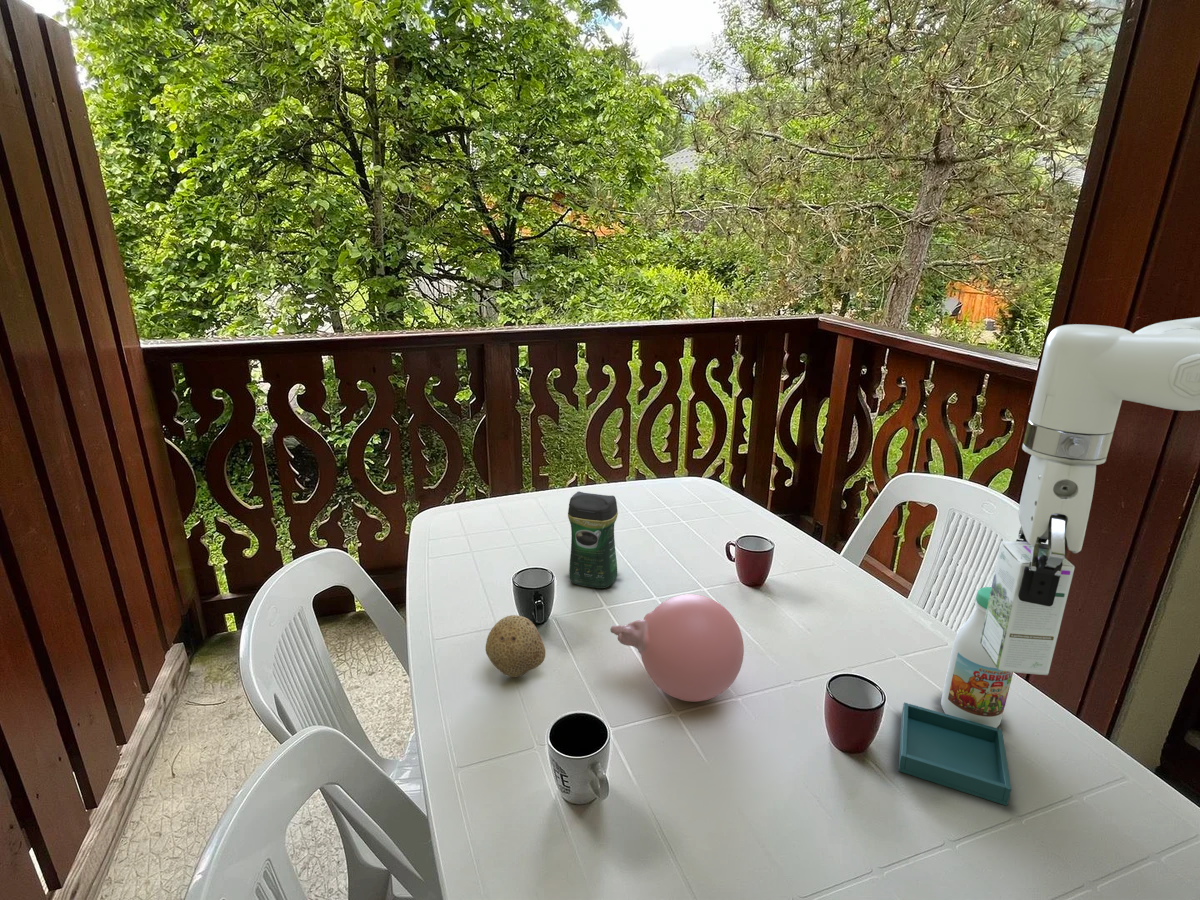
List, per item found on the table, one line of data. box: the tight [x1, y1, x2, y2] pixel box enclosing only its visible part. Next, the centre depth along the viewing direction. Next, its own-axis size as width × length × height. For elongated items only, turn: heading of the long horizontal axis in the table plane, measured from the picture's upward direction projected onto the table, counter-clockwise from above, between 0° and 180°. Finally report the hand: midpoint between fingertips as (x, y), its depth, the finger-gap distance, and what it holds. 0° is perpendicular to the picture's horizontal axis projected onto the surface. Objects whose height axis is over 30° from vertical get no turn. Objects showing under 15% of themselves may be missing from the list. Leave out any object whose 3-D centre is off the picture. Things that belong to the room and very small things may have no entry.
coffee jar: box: [567, 491, 619, 589], centre depth 127 cm, size 10×8×19 cm
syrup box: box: [980, 540, 1076, 676], centre depth 75 cm, size 6×6×14 cm
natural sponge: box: [485, 614, 546, 678], centre depth 100 cm, size 9×9×10 cm
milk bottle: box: [940, 586, 1014, 728], centre depth 90 cm, size 8×8×20 cm
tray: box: [898, 702, 1012, 807], centre depth 85 cm, size 12×11×3 cm
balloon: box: [610, 593, 745, 703], centre depth 96 cm, size 15×20×15 cm
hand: (1030, 585), depth 74 cm, fingers closed on syrup box, 6 cm apart
